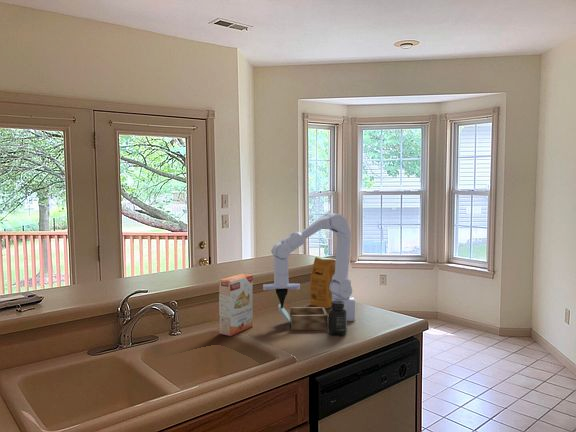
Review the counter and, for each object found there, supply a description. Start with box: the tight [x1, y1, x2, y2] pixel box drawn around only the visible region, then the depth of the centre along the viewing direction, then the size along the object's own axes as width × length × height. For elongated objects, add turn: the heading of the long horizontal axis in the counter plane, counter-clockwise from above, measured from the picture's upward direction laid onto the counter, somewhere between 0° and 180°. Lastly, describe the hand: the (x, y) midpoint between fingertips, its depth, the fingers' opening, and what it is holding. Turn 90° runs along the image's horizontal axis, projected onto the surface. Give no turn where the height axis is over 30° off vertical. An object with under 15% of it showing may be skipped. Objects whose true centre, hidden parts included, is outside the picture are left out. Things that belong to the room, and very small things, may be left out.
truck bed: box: [289, 306, 328, 331], centre depth 191 cm, size 14×12×6 cm
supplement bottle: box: [327, 301, 348, 337], centre depth 180 cm, size 7×7×12 cm
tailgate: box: [278, 303, 291, 324], centre depth 190 cm, size 1×9×6 cm
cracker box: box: [218, 273, 254, 337], centre depth 183 cm, size 14×6×21 cm, turn 148°
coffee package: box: [308, 256, 336, 310], centre depth 219 cm, size 10×12×22 cm
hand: (281, 307), depth 190 cm, fingers closed, pressing on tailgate
